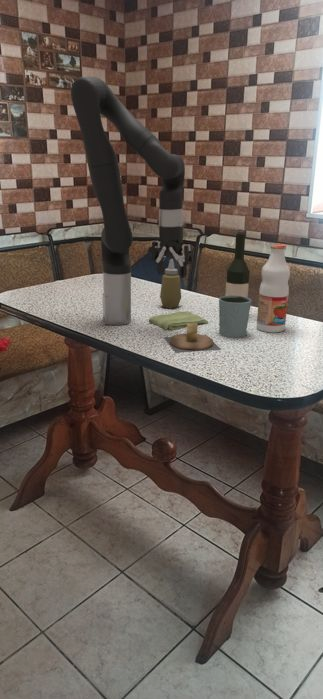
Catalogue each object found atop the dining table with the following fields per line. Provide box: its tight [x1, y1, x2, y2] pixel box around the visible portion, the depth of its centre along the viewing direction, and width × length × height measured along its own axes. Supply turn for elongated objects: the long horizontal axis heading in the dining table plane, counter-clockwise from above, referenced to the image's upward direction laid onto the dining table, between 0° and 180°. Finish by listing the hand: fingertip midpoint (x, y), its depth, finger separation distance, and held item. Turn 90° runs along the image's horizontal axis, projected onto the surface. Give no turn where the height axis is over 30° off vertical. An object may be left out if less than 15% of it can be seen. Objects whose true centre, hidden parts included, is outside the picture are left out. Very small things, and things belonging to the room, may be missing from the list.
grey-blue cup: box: [218, 295, 252, 339], centre depth 167 cm, size 10×10×12 cm
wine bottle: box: [224, 230, 250, 298], centre depth 185 cm, size 8×8×30 cm
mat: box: [163, 334, 222, 354], centre depth 159 cm, size 14×14×1 cm
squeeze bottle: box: [159, 258, 182, 309], centre depth 197 cm, size 8×8×18 cm
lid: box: [170, 323, 214, 352], centre depth 158 cm, size 13×13×6 cm
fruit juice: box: [256, 243, 291, 334], centre depth 171 cm, size 9×9×28 cm
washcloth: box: [148, 310, 209, 331], centre depth 179 cm, size 13×18×3 cm
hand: (172, 275), depth 167 cm, fingers open, 8 cm apart
